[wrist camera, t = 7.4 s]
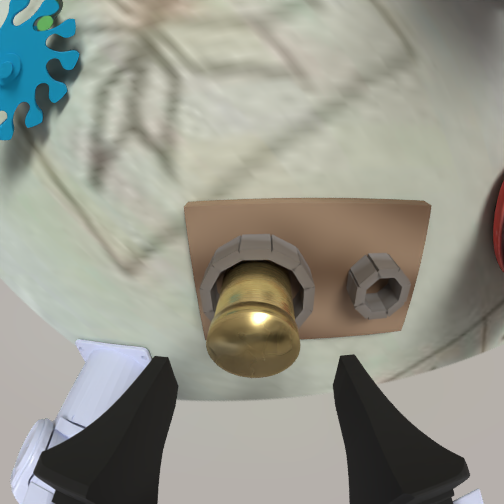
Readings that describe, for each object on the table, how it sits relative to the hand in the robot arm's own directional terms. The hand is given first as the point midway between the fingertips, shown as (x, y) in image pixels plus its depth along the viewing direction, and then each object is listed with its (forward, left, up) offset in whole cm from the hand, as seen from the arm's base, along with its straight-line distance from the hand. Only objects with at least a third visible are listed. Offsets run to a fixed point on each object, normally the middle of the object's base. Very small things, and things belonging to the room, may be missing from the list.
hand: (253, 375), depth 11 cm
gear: (+17, +14, -9) cm, 23 cm away
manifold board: (0, -4, -8) cm, 9 cm away
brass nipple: (0, 0, -7) cm, 7 cm away
